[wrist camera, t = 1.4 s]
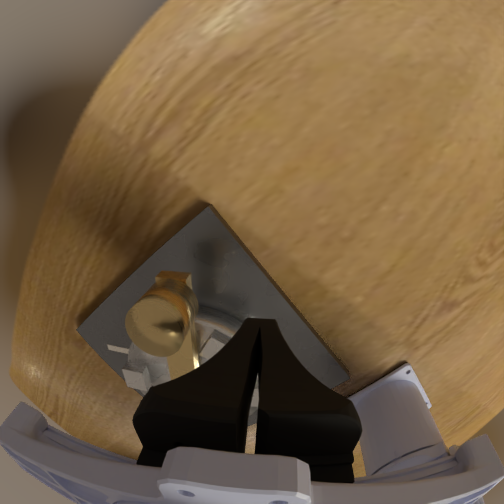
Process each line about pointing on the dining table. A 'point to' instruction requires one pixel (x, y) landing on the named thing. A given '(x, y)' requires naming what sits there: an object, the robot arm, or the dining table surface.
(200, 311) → the metal round piece
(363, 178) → the dining table surface
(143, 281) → the dark grey square plate
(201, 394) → the robot arm
